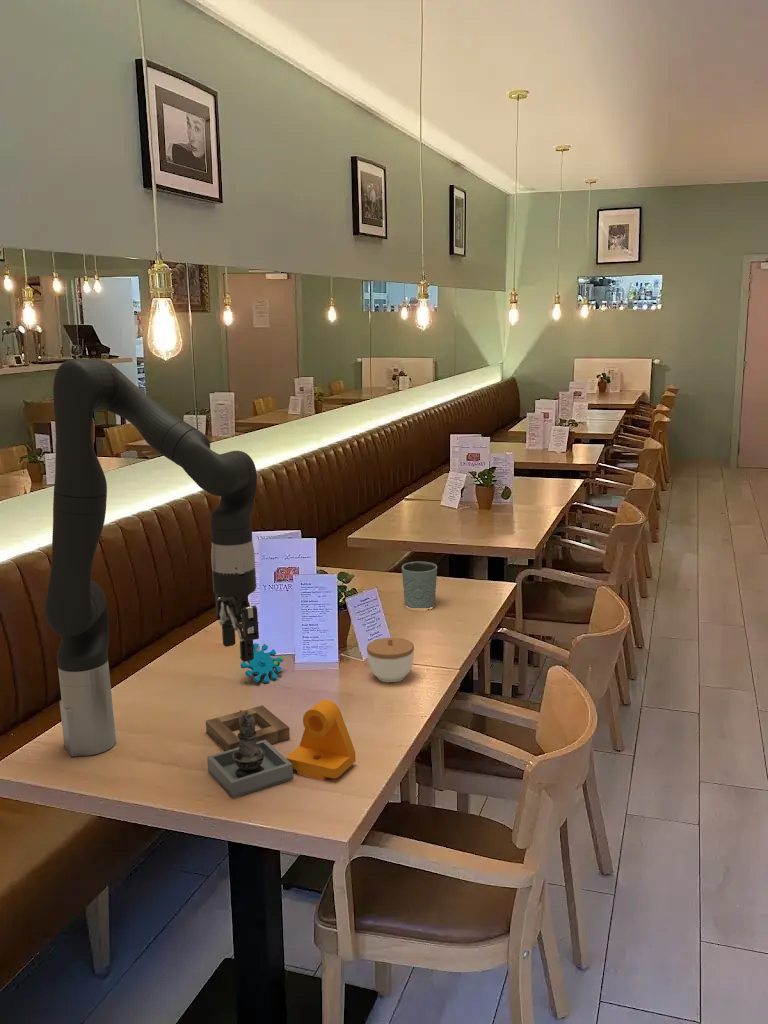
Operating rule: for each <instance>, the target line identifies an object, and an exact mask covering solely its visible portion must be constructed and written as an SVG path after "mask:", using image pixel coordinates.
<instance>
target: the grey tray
mask: <svg viewBox="0 0 768 1024" xmlns="http://www.w3.org/2000/svg"><path fill="white" fill-rule="evenodd" d="M256 744H257V747H259V748H262V749H263V750H264V751H265V755H264V759H263V762H262V764H261V765H260V766H262V767H263V768H264V771H261V772H258V773H255V774H251V775H248V776H245V777H242V778H238V777H237V776H236V775H235V772H236V770H237V769H238V768H239V767H238V766H237V765H236V763H235V761H234V759H233V757H232V755H233V753H234V752H235V751H236V750H238V749H239V748H240V747H238V748H235V749H231V750H228V751H224V750H223V751H221V752H219V753H215V754H210V755H208V756H207V757H206V759H207V769H208V770H207V772H208V773H209V774H210V775H211V776H212V778H214V780H215V781H216V782H217V783H218V784H219V786H221V788H223V790H224V791H225V792H226V793H227V794H228V795H229V796H230V797H231V799H233V800H234V799H237V798H240V797H243V796H246V795H250V794H252V793H255V792H258V791H262V790H264V789H268V788H271V787H274V786H277V785H281V784H283V783H287V782H289V781H290V782H291V781H292V780H294V769H293V765H292V763H291V762H290V761H288V760H287V757H286V756H284V755H283V754H282V753H281V752H279V750H277V748H275V747H274V745H273V744H272V745H271V744H270V743H269V742H267V741H266V740H262V741H259V742H256Z"/></svg>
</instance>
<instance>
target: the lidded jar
mask: <svg viewBox="0 0 768 1024" xmlns="http://www.w3.org/2000/svg"><path fill="white" fill-rule="evenodd" d="M414 650H415V645H414V643H413V642H412V641H410V640H409V639H405V638H400V637H383V638H377V639H375V640H372V641H370V642H368V644H367V646H366V652H367V661H368V666H369V668H370V671H371V672H372V674H373V675H374V676H375V677H377V679H378V681H380V682H382V683H389V682H394V683H398V682H401V680H402V681H403V680H404V679H405V677H406V676H408V674H409V673H410V671H411V670H412V667H413V663H414V655H415V654H414V653H415V651H414ZM389 684H390V683H389Z"/></svg>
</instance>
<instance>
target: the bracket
mask: <svg viewBox="0 0 768 1024" xmlns="http://www.w3.org/2000/svg"><path fill="white" fill-rule="evenodd" d="M343 717H344V716H343V715H342V712H341V709H340V707H339V706H338V705H337V703H335V702H334V701H332V700H329V699H322V700H320V701H318V702H317V703H316V704H315V705H314V706H312V707H311V708H309V709H308V710H307V711H305V713H304V714H303V717H302V724H303V727H304V730H303V733H302V737H301V740H300V742H299V746H298V747H296V748H295V749H294V750H292V751H291V752H290V753H288V754H287V755H286V759H287V760H288V761H290V762H291V763H292V765H293V770H295V771H296V774H297V775H300V776H305V777H309V778H311V779H317V780H321V781H324V780H326V779H327V778H330V779H337V778H339V777H341V775H342V774H343V773H345V772H346V771H347V770H348V769H349V768H350V767H351V766H353V764H354V763H356V760H357V759H356V751H355V747H354V745H353V741H352V740H351V737H350V733H349V731H348V728H347V726H346V723H345V720H344V718H343Z"/></svg>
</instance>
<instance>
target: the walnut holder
mask: <svg viewBox="0 0 768 1024" xmlns="http://www.w3.org/2000/svg"><path fill="white" fill-rule="evenodd" d="M245 711H247V712H248V714H250V715H252V716H253V717H254V719H255V725H258V726H259V727H260V728H261V729H256V730H255V731H256V732H257V733H258V734H257V736H256V742H259V741H262V740H266V741H267V742H269V743H270V744H271V745H272V746H273V745H275V744H277V743H280V742H285V741H288V740H290V739H291V736H290V734H291V733H290V727H289V725H287V724H286V723H284V722H283V721H282V720H281V719H280V718H279V717H277V716H276V715H275V714H274V713H273V712H271V711H270V710H269V709H268V708H267V707H266V706H264V705H263V704H262V705H259V706H255V707H251V708H248V709H244V710H240V711H237V712H233V713H229V714H225V715H223V716H222V715H221V716H218V717H215V718H210V719H207V720H205V731H206V734H207V735H208V736H210V738H211V739H212V740H213V741H214V742H215V743H216V742H217V743H218V744H219V745H220V746H221V747H222V748H223V749H224V750H223V749H222V748H221V747H220V746H219V745H218V744H217V743H216V744H217V745H218V746H219V747H220V748H221V749H222V750H223V752H224V751H228V750H231V749H235V748H238V747H240V739H239V738H238V735H236V734H235V733H234V731H237V730H239V719H240V717H241V716H243V715H245V713H244V712H245ZM233 730H234V731H233Z"/></svg>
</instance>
